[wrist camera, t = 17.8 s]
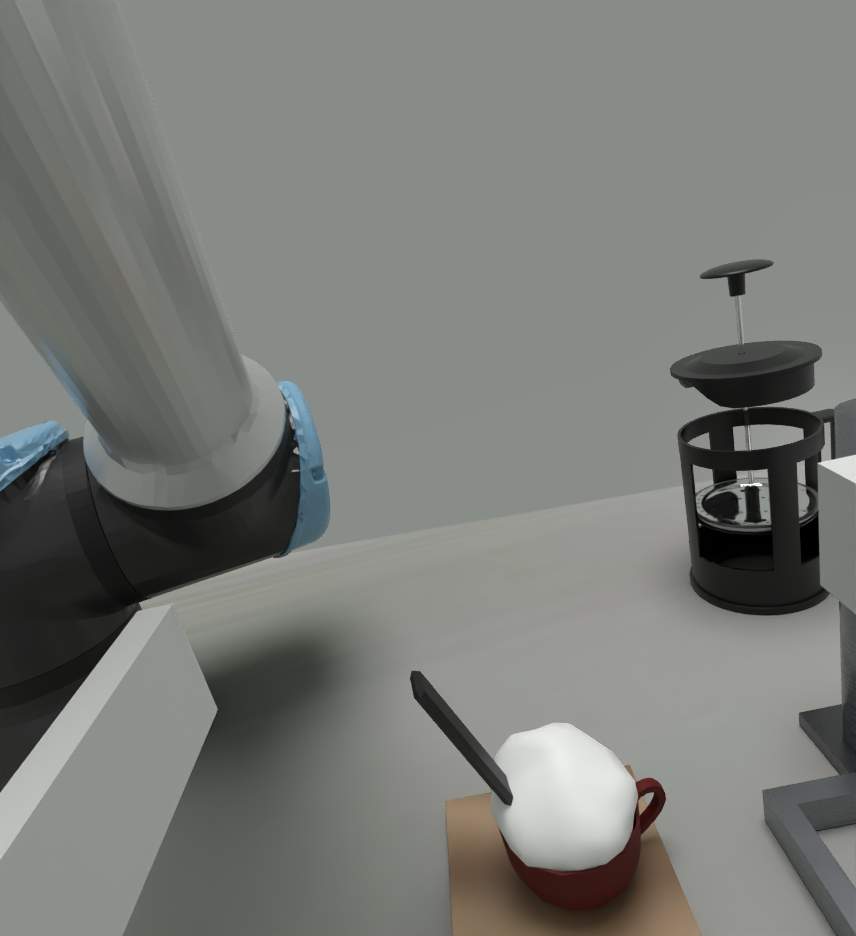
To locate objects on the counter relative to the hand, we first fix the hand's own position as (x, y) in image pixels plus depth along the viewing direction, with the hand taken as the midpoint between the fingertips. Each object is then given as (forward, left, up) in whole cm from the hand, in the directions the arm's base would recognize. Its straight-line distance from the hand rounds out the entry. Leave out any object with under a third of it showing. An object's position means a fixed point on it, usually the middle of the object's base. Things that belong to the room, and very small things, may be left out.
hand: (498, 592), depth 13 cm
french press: (-30, +20, -22) cm, 42 cm away
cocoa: (-10, +1, -21) cm, 23 cm away
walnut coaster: (-10, 0, -21) cm, 24 cm away
